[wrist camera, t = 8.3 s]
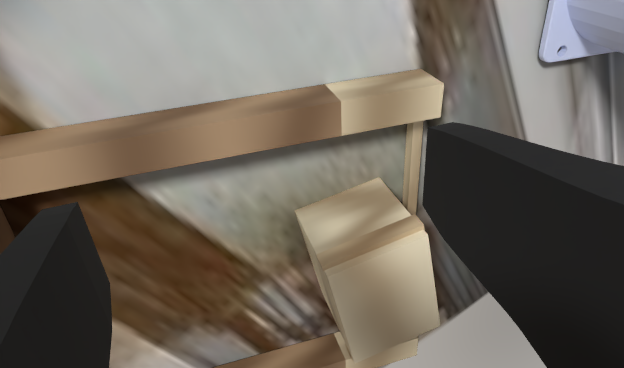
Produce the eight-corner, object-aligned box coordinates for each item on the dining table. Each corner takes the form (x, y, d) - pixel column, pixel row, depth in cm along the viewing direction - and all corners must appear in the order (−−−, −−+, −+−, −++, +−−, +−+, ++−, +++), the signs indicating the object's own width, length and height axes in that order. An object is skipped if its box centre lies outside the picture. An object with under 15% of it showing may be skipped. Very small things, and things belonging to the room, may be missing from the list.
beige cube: (378, 171, 24) (428, 230, 20) (396, 263, 28) (441, 328, 24) (291, 206, 23) (325, 272, 19) (321, 295, 27) (355, 367, 23)
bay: (420, 69, 22) (443, 83, 20) (401, 330, 31) (416, 355, 29) (-78, 148, 17) (-100, 176, 16) (72, 426, 26) (68, 462, 25)
